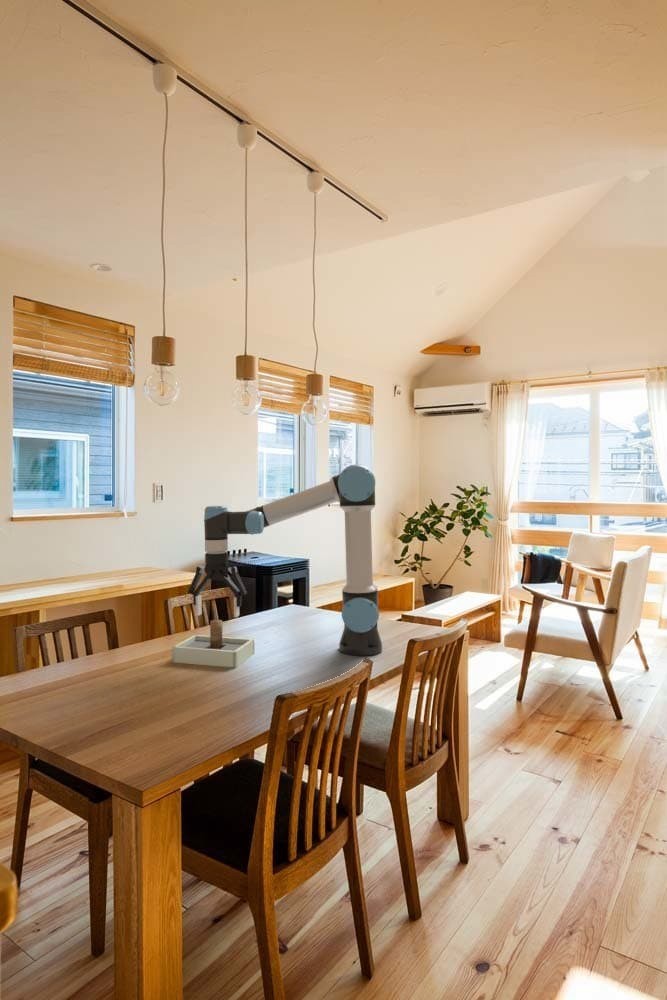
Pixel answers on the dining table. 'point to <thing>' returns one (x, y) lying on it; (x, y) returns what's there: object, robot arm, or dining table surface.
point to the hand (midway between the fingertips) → (217, 615)
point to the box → (213, 651)
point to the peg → (216, 634)
